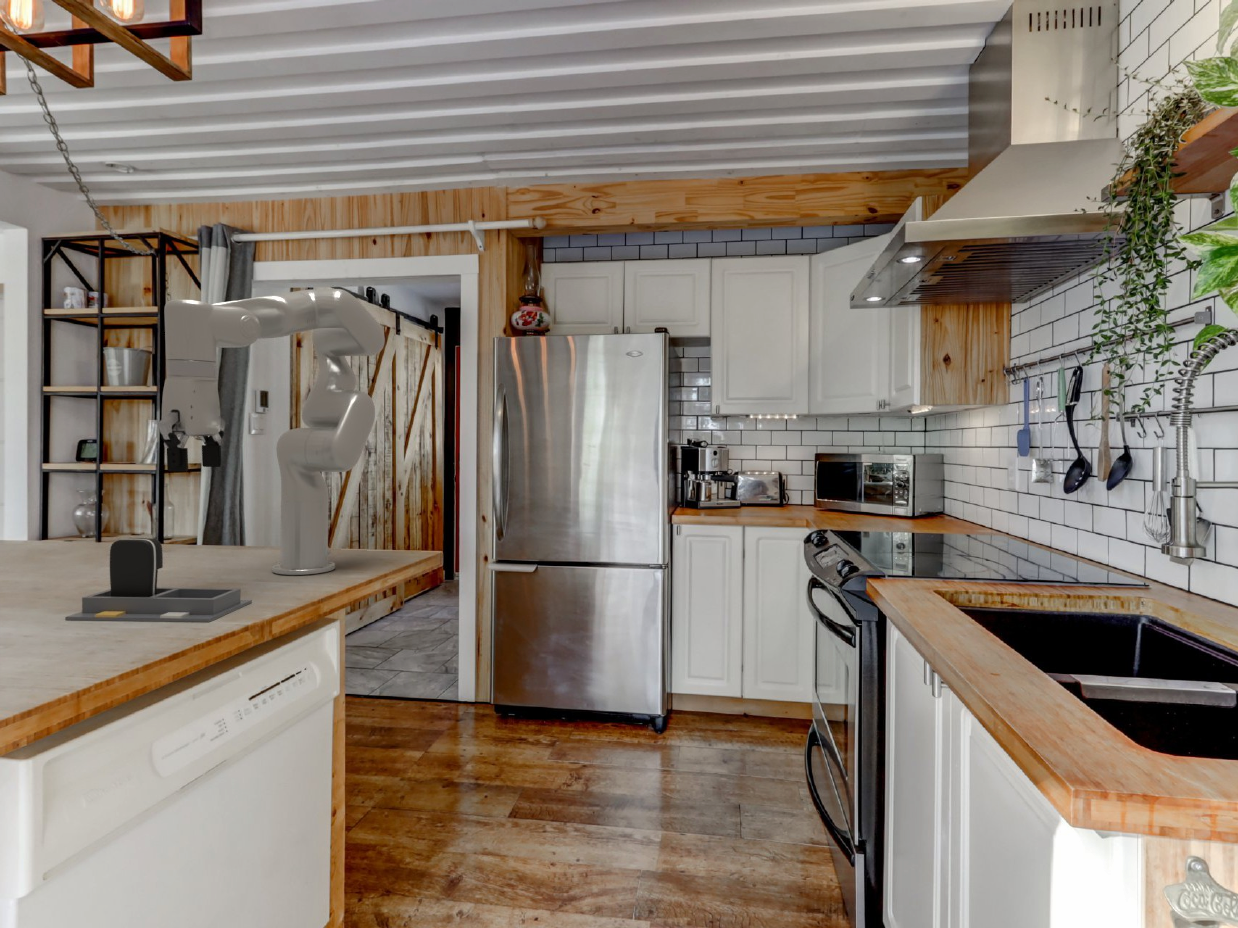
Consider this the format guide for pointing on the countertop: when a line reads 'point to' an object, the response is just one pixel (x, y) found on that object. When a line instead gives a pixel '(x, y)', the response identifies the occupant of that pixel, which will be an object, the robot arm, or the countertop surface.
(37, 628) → the countertop surface
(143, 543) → the battery charger
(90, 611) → the dock
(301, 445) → the robot arm
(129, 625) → the countertop surface
